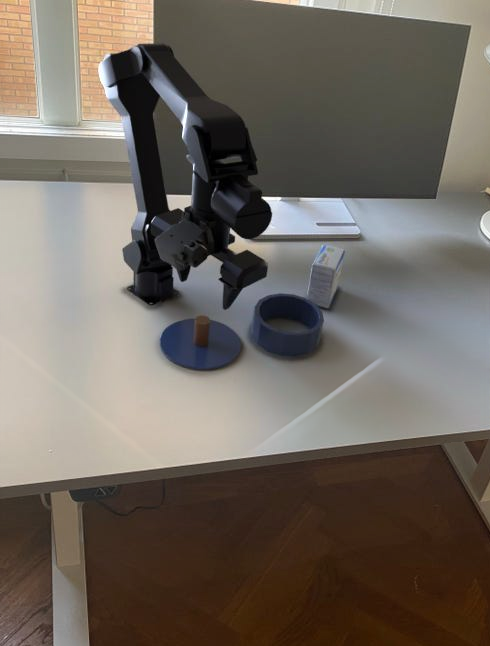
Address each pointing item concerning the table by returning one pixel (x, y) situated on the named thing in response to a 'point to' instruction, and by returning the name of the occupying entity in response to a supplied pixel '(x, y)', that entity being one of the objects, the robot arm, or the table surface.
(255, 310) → the dark blue round container
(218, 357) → the cover
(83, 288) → the table surface
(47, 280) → the table surface
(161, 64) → the robot arm
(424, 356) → the table surface
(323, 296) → the medicine box
